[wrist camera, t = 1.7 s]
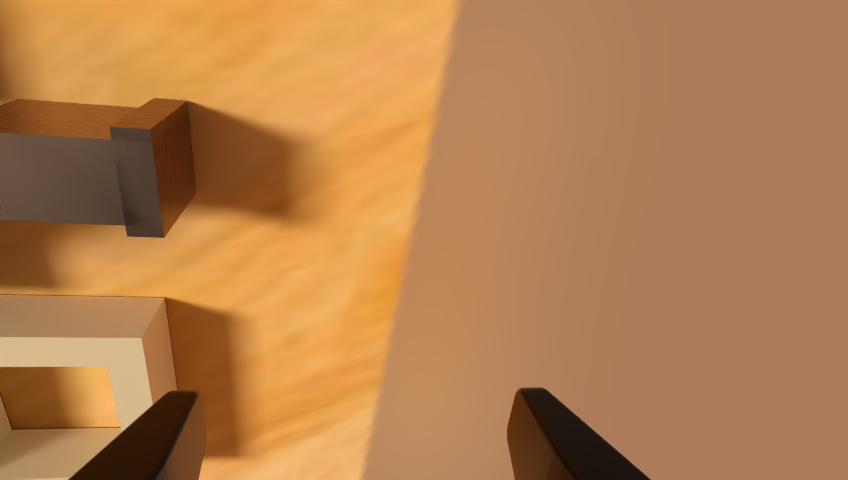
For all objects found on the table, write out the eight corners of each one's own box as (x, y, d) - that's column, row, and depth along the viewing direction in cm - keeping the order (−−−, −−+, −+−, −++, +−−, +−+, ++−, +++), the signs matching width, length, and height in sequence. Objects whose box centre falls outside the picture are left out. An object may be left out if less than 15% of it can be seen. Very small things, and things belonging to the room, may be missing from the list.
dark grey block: (195, 192, 18) (164, 237, 15) (38, 185, 17) (-30, 230, 14) (186, 100, 17) (150, 129, 14) (14, 87, 16) (-66, 115, 13)
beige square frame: (185, 446, 23) (168, 495, 21) (-14, 451, 22) (-55, 504, 20) (164, 297, 20) (141, 337, 18) (-74, 293, 19) (-131, 336, 16)
